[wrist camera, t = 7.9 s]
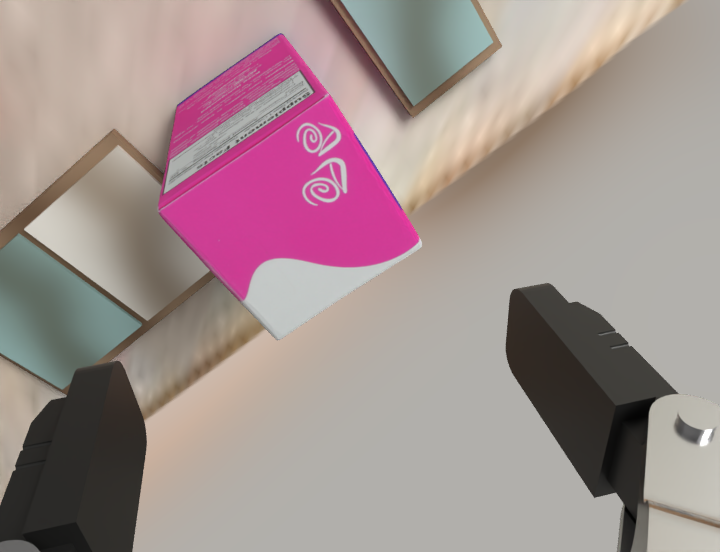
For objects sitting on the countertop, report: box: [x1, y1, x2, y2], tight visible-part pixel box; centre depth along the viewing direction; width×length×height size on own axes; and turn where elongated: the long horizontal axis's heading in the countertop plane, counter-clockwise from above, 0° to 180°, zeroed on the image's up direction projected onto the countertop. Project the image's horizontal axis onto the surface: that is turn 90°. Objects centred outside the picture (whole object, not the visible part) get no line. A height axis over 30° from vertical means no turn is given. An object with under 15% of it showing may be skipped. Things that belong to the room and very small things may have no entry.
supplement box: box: [157, 33, 422, 340], centre depth 21 cm, size 6×6×12 cm
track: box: [0, 0, 502, 395], centre depth 26 cm, size 28×8×1 cm, turn 127°
